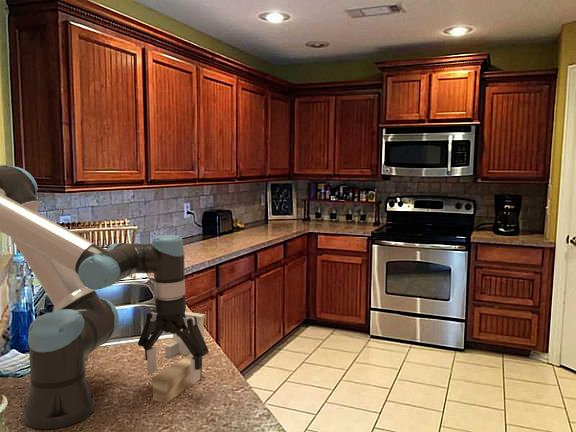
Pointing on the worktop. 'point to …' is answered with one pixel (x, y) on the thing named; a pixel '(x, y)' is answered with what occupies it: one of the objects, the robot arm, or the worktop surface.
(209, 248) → the worktop surface
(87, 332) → the robot arm
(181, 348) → the headboard
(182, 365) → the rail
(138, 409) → the worktop surface
